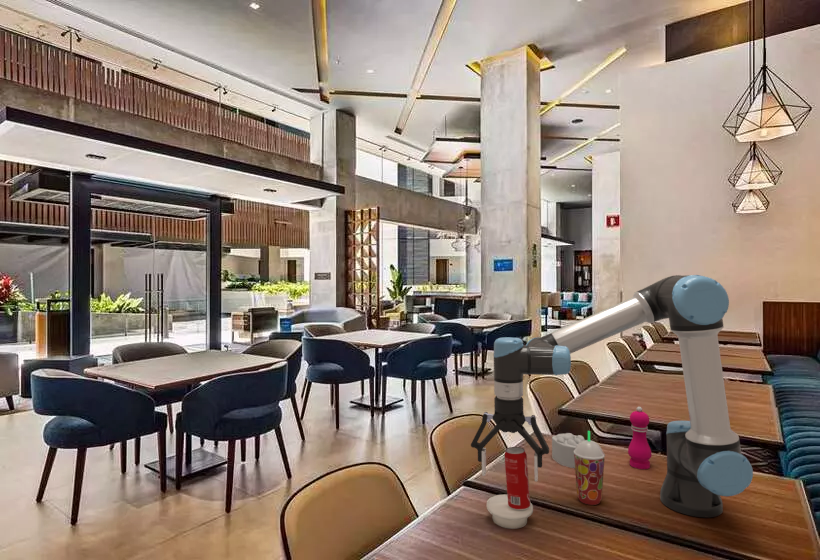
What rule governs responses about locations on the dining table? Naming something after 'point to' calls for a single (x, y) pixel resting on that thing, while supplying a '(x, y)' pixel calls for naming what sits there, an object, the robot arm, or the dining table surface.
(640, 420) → the pepper mill
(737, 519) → the dining table surface
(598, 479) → the smoothie
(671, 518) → the dining table surface
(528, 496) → the beverage can
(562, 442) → the lumpy-topped squat cylinder
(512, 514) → the stand
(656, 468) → the dining table surface
